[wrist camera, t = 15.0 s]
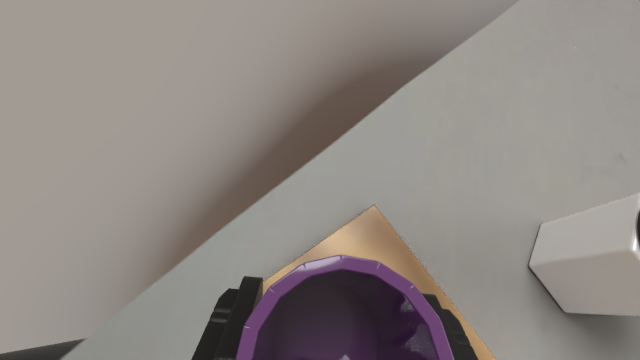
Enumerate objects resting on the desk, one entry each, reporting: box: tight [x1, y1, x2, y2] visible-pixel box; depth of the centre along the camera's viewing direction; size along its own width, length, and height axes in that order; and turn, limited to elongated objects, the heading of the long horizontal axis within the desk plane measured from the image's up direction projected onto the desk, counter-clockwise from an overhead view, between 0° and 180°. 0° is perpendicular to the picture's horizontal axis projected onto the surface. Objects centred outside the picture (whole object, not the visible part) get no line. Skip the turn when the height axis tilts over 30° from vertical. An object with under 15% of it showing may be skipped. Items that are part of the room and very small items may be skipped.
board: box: [263, 205, 496, 360], centre depth 24 cm, size 16×16×1 cm
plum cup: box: [235, 255, 454, 360], centre depth 12 cm, size 6×6×8 cm
